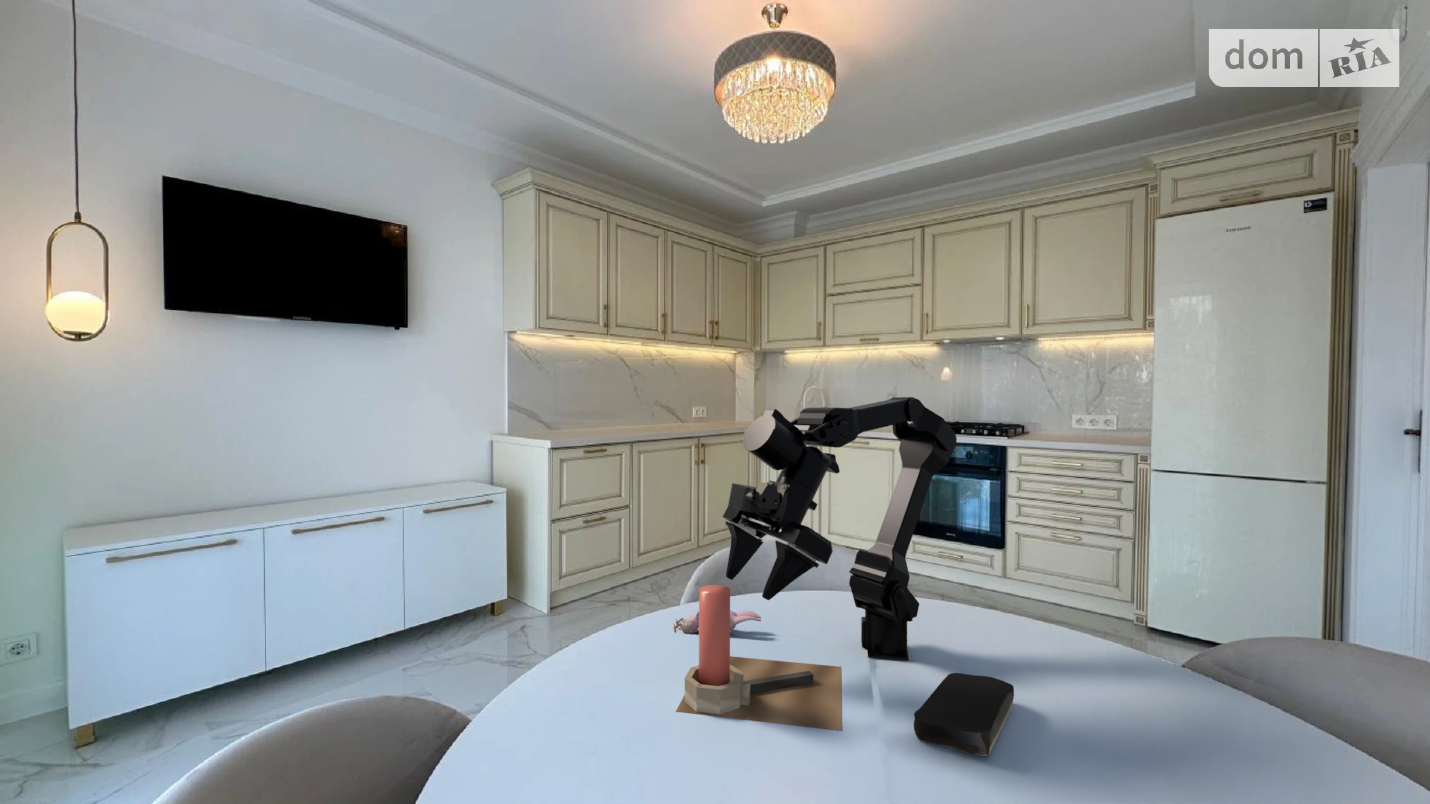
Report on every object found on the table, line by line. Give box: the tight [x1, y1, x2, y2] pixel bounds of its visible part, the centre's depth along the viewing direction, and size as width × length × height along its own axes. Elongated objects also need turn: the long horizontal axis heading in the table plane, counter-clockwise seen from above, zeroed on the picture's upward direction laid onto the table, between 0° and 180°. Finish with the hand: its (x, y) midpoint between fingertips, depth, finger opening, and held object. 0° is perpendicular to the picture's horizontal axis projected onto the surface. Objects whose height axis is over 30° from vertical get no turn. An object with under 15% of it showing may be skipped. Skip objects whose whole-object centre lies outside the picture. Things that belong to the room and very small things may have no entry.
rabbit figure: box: [673, 609, 762, 635], centre depth 99 cm, size 6×6×15 cm
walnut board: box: [675, 655, 843, 732], centre depth 78 cm, size 20×17×4 cm
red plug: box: [698, 584, 731, 686], centre depth 74 cm, size 4×4×14 cm
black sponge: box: [913, 672, 1015, 757], centre depth 71 cm, size 16×8×4 cm, turn 142°
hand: (746, 588), depth 78 cm, fingers open, 9 cm apart
